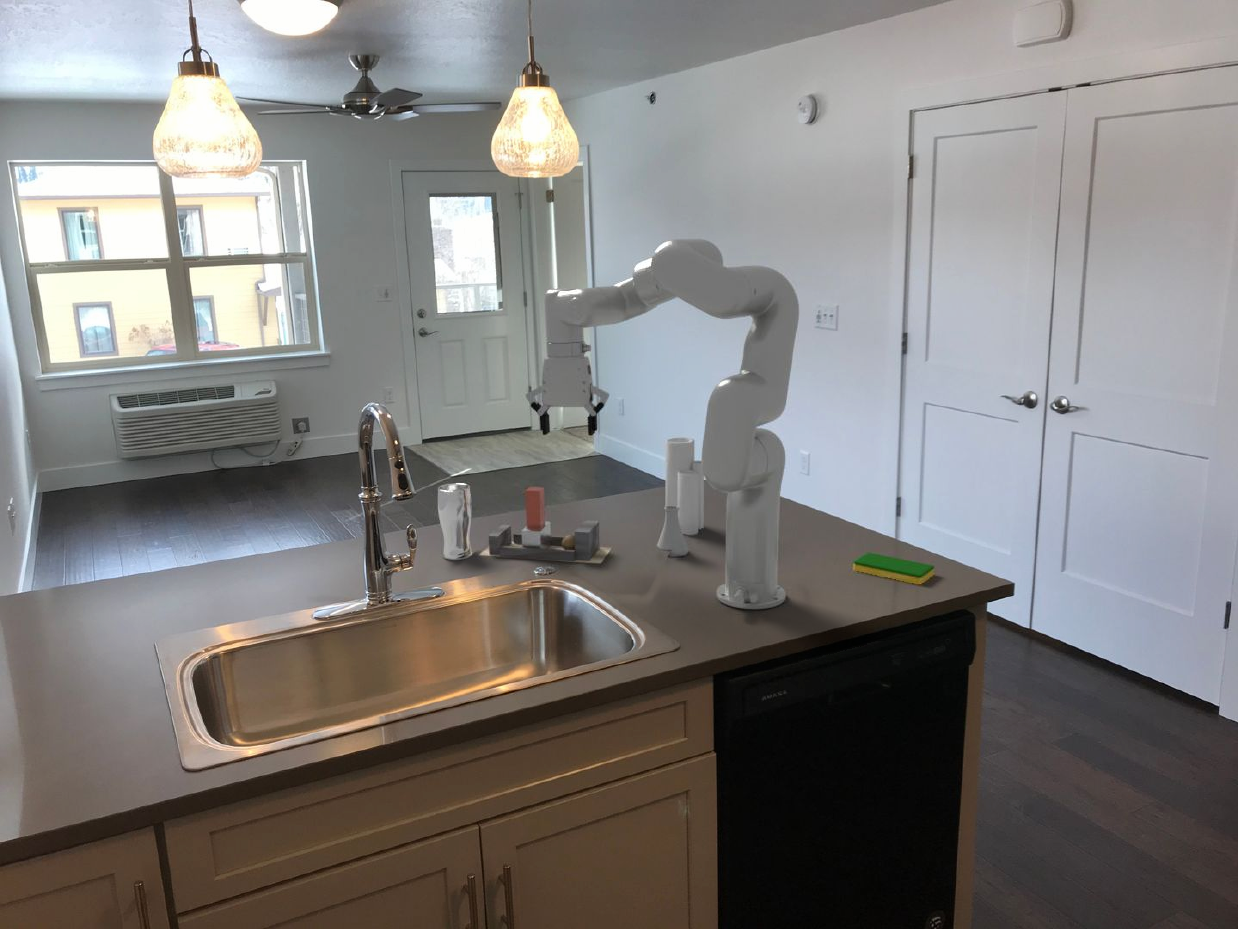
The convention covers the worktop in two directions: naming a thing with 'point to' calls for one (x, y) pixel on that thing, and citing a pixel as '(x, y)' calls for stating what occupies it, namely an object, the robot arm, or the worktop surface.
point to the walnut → (569, 542)
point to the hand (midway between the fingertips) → (568, 434)
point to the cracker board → (584, 546)
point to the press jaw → (536, 520)
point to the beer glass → (455, 520)
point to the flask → (672, 533)
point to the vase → (685, 483)
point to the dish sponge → (894, 568)
